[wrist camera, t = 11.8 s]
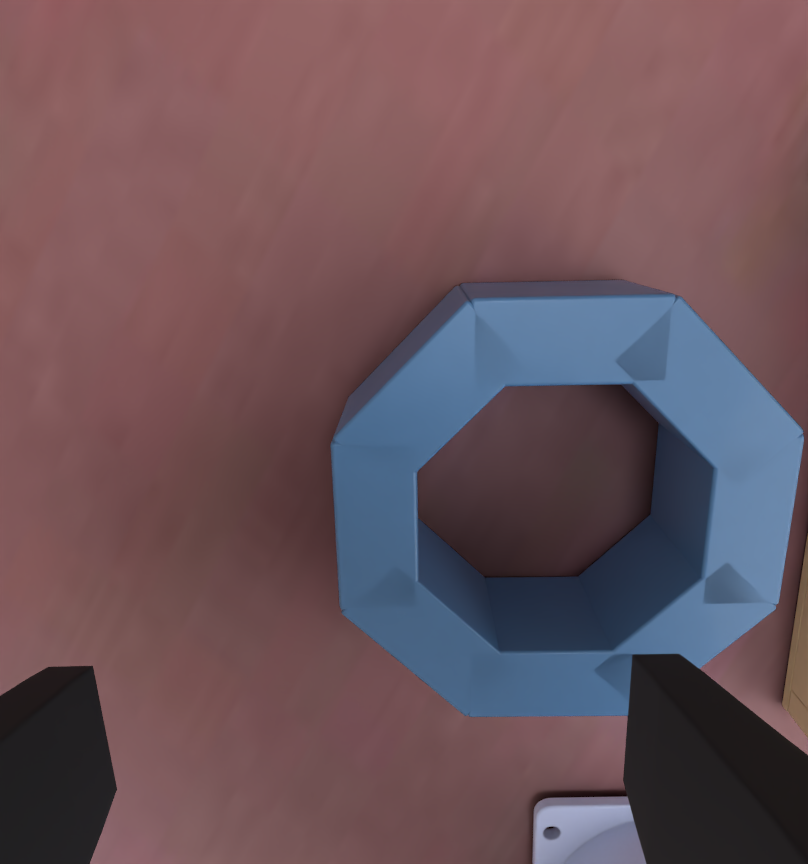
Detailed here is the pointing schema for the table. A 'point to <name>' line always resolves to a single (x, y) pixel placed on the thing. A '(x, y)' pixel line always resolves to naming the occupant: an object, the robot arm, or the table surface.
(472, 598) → the ring
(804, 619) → the tray
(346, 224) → the table surface
